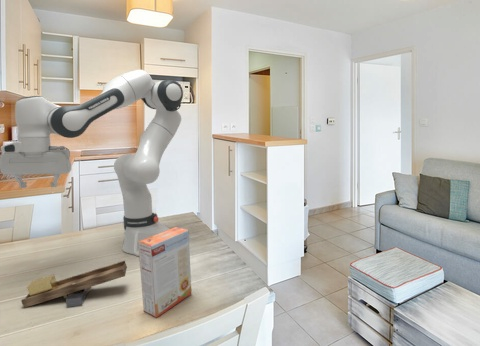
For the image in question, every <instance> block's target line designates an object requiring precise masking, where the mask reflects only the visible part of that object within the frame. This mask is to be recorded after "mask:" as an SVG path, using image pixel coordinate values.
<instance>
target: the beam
mask: <svg viewBox="0 0 480 346" xmlns="http://www.w3.org/2000/svg"><path fill="white" fill-rule="evenodd" d="M127 268H128V266H127V264H126V260H123V261H119V262H116V263H113V264H109V265H106V266H102V267H99V268H95V269H93V270H89V271H86V272H83V273H82V272H81V273H79V274H76V275H72V276H70V277H66V278H63V279H59V280H56V281H57V284H58V287H57V289H54V290H51V291H48V292H45V293H41V294H38V295H35V296H32V297H30V295H29V293H28V294H27V295H26V296H25V297H24V298H23V299H21V304H22V306H23V308H24V309H25V308H28V307H31V306H34V305H38V304H42V303H45V302H48V301H51V300H54V299H57V298H60V297H63V298H64V299H65V300H66V299H67V297H68V295H69V294H70V293H73V292H76V291H79V290H83V289H87V291H88V292H90V291H91V289H92V287H94V286H98V285H101V284H105V283H107V282H110V281H114V280H117V279H121V278H124V277H126V273H127Z"/></svg>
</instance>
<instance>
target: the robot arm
mask: <svg viewBox="0 0 480 346" xmlns="http://www.w3.org/2000/svg"><path fill="white" fill-rule="evenodd" d="M183 97H184V90H183V87H182V86H181V84H180V83H179V82H177V81H175V80H174V79H164V80H160V81H154V80H153V79H152V77H151V75H150V74H149V73H148V72H147V71H146V70H144V69H135V70H131V71H128V72H125V73H122V74H120V75H118V76H115V77H114V78H112V79H110V80H109V81H107V83H105V84H104V86H103V89H102V92H101V93H100V94H98V95H97V96H95V97H93V98H91V99H88V100H87V101H84V102H83V103H80V104H78V105H64V106H60V105H58V104H55V103H53V102H51V101H49V100H48V99H46V98H45V97H43V96H41V95H33V96H32V95H31V96H24V97H21V98H19V99H17V101H16V102H15V105H14V116H15V117H14V118H15V119H14V120H15V125H16V126H17V136H16V137H17V141H14V142H12V143H7V144H4V145H2V146H0V151H1V153H2V154H0V173H1V175H3V176H14V179H15V181H16V182H17V183H18V185H19V187H18V188H20V189H26V188H27V187H28V185H27V184H28V183H27V181H24V180H23V179H22V178H23V175H53V178H54V179H53V180H52V181H50V187H51V188H57V187H58V182H59V179H60V177H61V174H62V175H63V174H64V175H67V174H69V173H70V172H71V171H72V164H71V160H70V159H71V158H70V157H71V151H70V149H69V148H67V147H65V146H63V145H60V146H57V145H56V146H55V145H51V137H50V135H51V134H54V135H57V136H60V137H61V136H62V137H64V138H67V139H73V138H77V137H80V136H81V135H83V134H84V133H85V132H86V130H87V129H88V128H89V126H90V125H91V124H92V123H93V122H94V121H96V120H97V119H100V117H103V116H104V115H106V114H108V113H110V112H112V111H114V110H119V109H122V108H125V107H128V106H130V105H132V104H134V103H136V102H137V101H140V100H141V101H142V102H143V103H144V104H145V106H146V107H147V108H150V109H151V110H156V111H155V114H154V118H152V120H151V121H150V122H149V124H148V125H147V126H146V129H144V131H143V132H142V134H140V135H141V136H140V137H139V144H138V147H137V149H136V152H135V153H133V154H132V153H127V154H126V153H125V154H123V155H120V156H118V157H117V158H116V159H115V161H114V163H113V169H114V172H115V174H116V176H117V180H118V183H119V188H120V190H121V193H122V194H121V195H122V200H123V201H122V202H123V214H124V215H123V218H122V222H123V224H122V225H123V229H124V236H123V244H122V248H121V249H122V251H123V252H124V253H126V254H131V255H134V256H136V257H139V244H138V242H139V241H141V240H144V239H146V238H149V237H151V236H154V235H157V234H159V233H162V232H164V231H167V230H169V229H170V228H169V227H168V226H166V225H165V224H163V223H162V222H161V221H159V219H160V218H159V216H158V214H157V213H154V212H153V200H152V199H153V197H152V193H151V192H150V190H149V188H148V185H150V184H153V183H154V182H156V180H158V178H159V177H160V172H161V171H160V163H161V160H162V158H163V155H164V152H165V151H166V150H167V147H168V146H169V145H170V142H171V141H173V138H174V136H175V135H176V133H177V132H178V129H179V127H180V124H181V123H182V115H181V113H180V112H179V111H178V110H179V109H180V108H181V106H182V101H183Z"/></svg>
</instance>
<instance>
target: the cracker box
mask: <svg viewBox="0 0 480 346" xmlns="http://www.w3.org/2000/svg"><path fill="white" fill-rule="evenodd" d="M189 233H190V231H189V229H185V228H182V227H178V226H174V227H172V228H169V230H167V231H164V232H162V233H159V234H157V235H154V236H151V237H149V238H146V239H144V240H141V241H139V242H138V244H139V256H138V257H139V268H140V282H141V283H140V284H141V293H142V305H143V307H142V308H143V312H145V313H147V314H149V315H150V316H153V317H155V318H156V319H157V318H159V316H160V317H161V315H163V314H165V313H166V312H167V311H169V310H171V308H173V307H174V306H176V305H178V304H179V303H180V302H182V301H183V300H184V299H186V298H188V297H189V296H191V295H192V274H191V253H190V252H191V250H190V234H189Z"/></svg>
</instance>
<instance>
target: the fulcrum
mask: <svg viewBox="0 0 480 346" xmlns="http://www.w3.org/2000/svg"><path fill="white" fill-rule="evenodd" d="M88 293H89V291H87V289H83V290H79V291H76V292H73V293H70V294H69V295H68V297H67V298H65V304H66V308H74V307H80V306H83V305H84V302H85V300H86V298H87V297H86V296H87V295H88Z"/></svg>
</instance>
